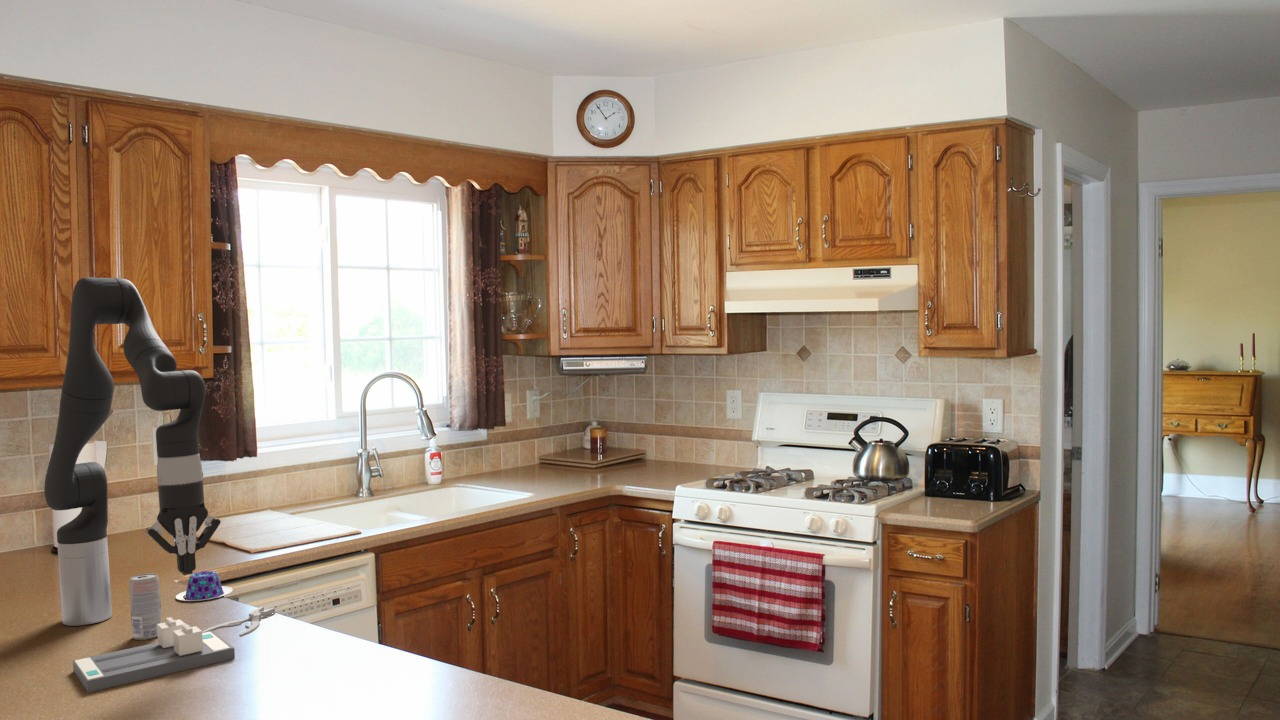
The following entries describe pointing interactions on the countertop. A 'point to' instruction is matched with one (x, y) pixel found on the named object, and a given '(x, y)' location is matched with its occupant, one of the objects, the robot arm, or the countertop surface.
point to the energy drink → (145, 605)
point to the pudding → (204, 587)
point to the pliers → (253, 616)
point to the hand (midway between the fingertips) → (187, 573)
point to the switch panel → (147, 662)
